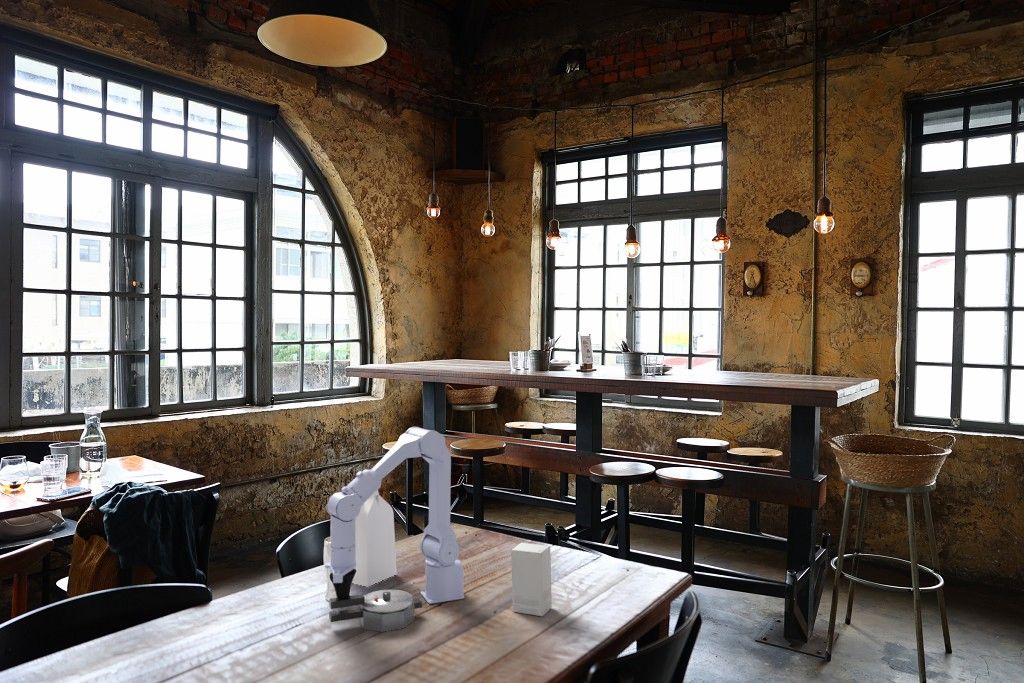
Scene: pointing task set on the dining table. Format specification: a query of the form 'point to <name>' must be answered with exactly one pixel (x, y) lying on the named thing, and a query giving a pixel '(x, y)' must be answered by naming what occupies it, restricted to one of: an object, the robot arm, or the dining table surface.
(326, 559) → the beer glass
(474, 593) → the dining table surface
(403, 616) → the pot
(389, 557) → the milk
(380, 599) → the lid
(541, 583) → the skincare box
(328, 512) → the robot arm
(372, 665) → the dining table surface
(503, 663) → the dining table surface
